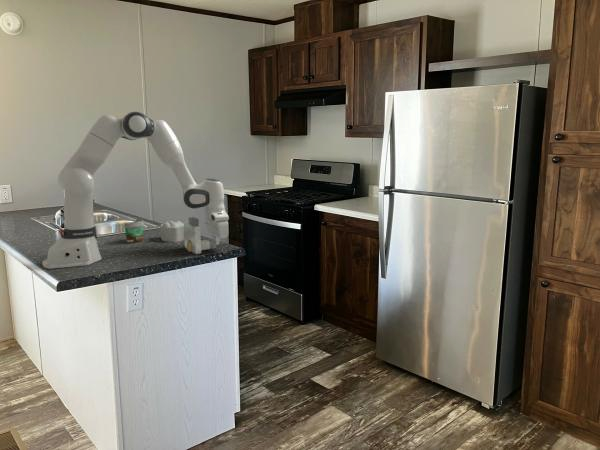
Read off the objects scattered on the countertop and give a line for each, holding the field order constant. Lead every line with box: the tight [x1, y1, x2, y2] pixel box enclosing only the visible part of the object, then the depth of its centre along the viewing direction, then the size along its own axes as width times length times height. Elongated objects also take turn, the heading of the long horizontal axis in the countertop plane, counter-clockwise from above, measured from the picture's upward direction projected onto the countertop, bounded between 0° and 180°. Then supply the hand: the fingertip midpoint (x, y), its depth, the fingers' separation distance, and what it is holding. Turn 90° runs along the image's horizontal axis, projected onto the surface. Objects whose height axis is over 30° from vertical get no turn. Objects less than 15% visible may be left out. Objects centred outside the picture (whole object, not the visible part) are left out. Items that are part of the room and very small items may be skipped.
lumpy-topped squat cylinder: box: [160, 220, 185, 243], centre depth 251 cm, size 10×13×9 cm
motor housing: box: [183, 216, 202, 255], centre depth 227 cm, size 2×15×15 cm, turn 31°
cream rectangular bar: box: [186, 238, 217, 253], centre depth 230 cm, size 12×4×4 cm, turn 121°
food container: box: [123, 218, 145, 244], centre depth 246 cm, size 12×6×10 cm, turn 168°
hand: (216, 243), depth 234 cm, fingers closed
